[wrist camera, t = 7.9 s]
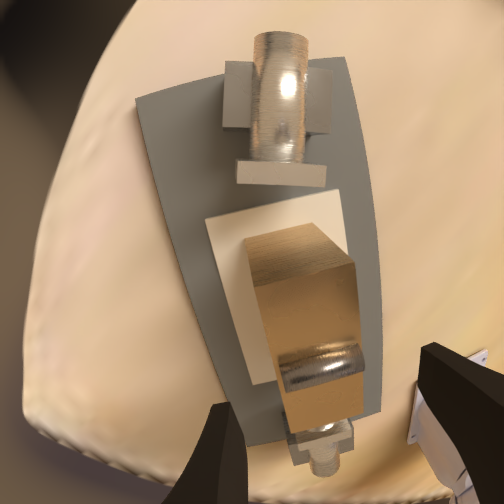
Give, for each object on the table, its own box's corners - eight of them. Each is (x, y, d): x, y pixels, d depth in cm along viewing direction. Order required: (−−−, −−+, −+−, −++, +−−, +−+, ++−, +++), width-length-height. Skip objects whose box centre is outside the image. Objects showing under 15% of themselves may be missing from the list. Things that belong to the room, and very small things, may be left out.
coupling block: (312, 222, 17) (364, 271, 10) (330, 346, 19) (369, 425, 13) (244, 238, 17) (255, 299, 10) (274, 361, 19) (294, 447, 13)
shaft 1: (308, 176, 16) (340, 188, 12) (221, 173, 16) (219, 183, 11) (313, 64, 14) (345, 36, 10) (226, 57, 14) (226, 23, 9)
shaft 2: (276, 393, 20) (287, 446, 16) (338, 376, 20) (361, 426, 16) (289, 442, 22) (299, 489, 18) (342, 427, 22) (359, 472, 18)
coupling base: (377, 405, 23) (381, 413, 22) (246, 439, 23) (247, 449, 22) (339, 60, 15) (346, 55, 14) (139, 100, 15) (133, 97, 14)
